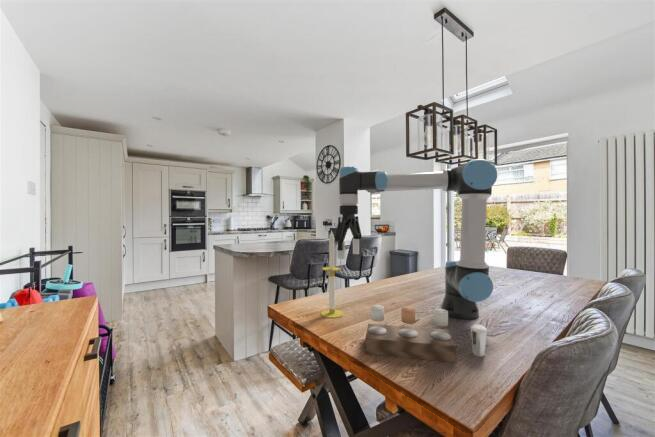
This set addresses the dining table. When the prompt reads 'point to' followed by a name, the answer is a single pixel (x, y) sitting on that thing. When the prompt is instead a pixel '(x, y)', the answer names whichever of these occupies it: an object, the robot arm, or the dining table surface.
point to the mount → (410, 342)
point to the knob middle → (408, 315)
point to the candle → (331, 282)
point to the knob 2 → (440, 317)
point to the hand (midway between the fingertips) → (349, 256)
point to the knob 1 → (377, 313)
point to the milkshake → (478, 339)
